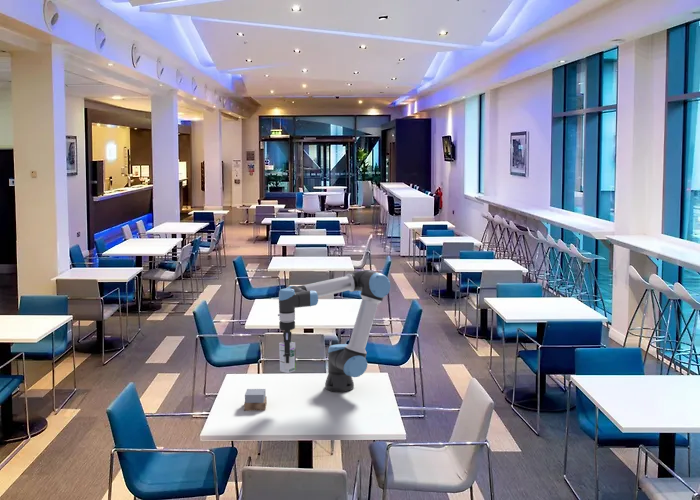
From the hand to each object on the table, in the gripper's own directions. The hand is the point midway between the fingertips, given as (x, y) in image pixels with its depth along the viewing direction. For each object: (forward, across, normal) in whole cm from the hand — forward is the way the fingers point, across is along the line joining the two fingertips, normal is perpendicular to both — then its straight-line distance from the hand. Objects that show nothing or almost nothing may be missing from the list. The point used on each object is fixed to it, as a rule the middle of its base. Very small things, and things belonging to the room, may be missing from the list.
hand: (287, 366), depth 364 cm
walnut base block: (+20, 0, -16) cm, 26 cm away
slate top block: (+16, 0, -16) cm, 23 cm away
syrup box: (+2, 0, 0) cm, 2 cm away
